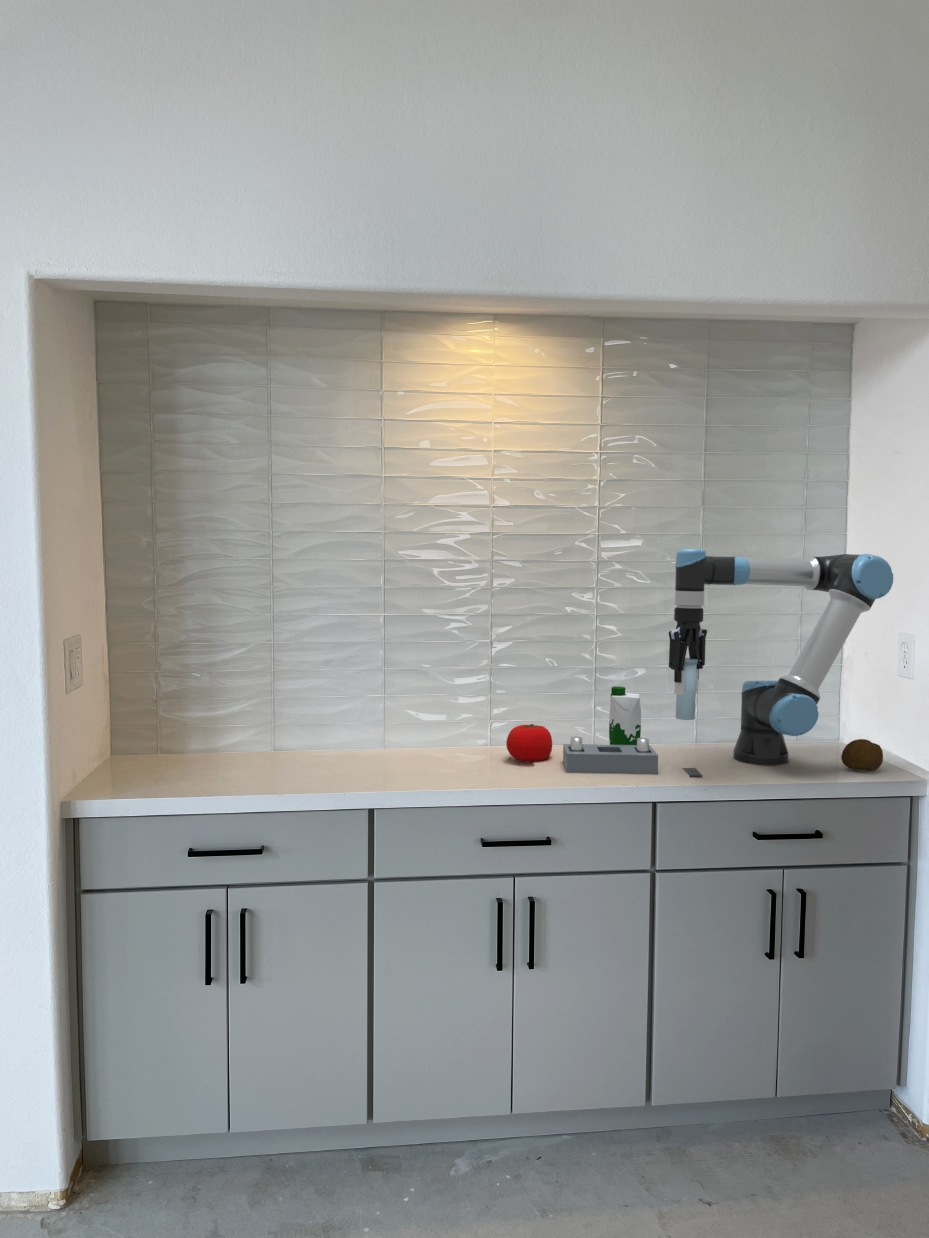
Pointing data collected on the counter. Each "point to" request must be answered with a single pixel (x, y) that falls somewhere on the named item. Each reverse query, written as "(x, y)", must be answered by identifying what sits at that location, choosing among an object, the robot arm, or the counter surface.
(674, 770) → the counter surface
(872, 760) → the potato
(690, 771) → the mat
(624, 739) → the milk carton
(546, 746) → the tomato
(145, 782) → the counter surface
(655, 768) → the housing
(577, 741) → the plunger
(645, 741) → the plunger
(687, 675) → the cartridge
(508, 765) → the counter surface
